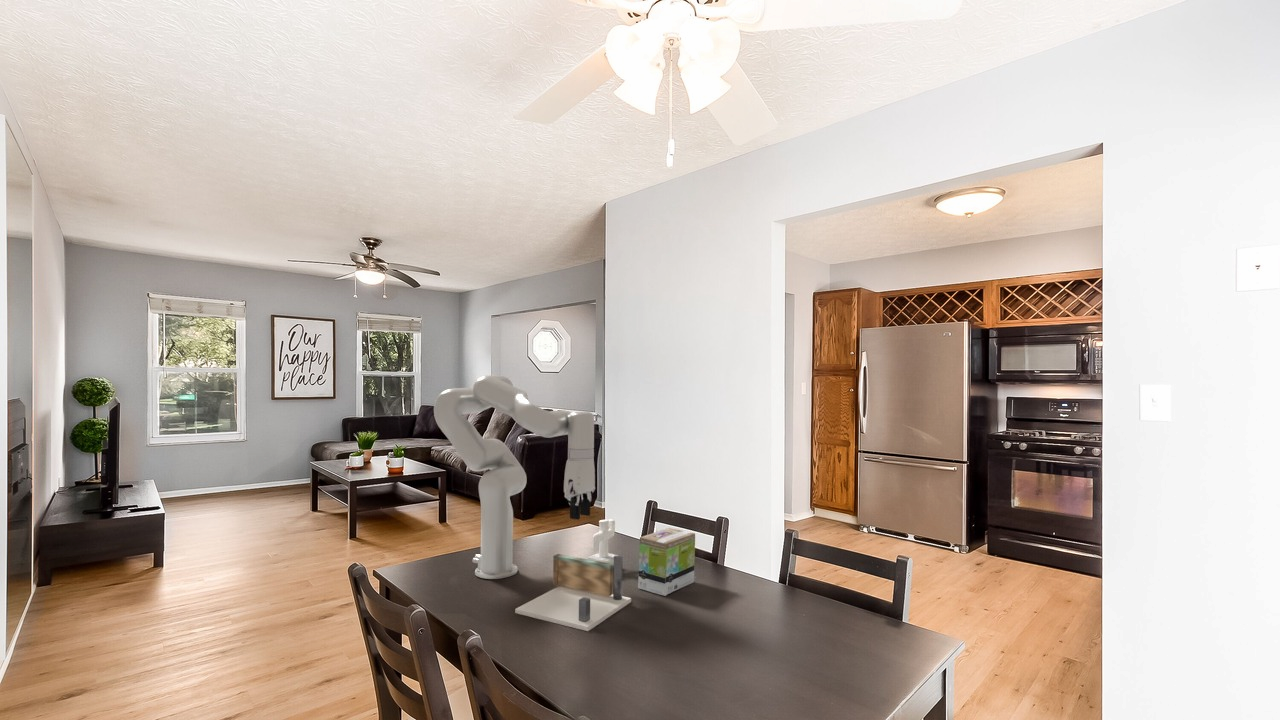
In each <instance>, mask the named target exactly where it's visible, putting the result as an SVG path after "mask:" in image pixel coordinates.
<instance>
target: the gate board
mask: <svg viewBox="0 0 1280 720" xmlns="http://www.w3.org/2000/svg"><path fill="white" fill-rule="evenodd" d="M583 597H585V598H590V620H588V621H587V622H582V621H579V599H581V598H583ZM630 603H632V598H631V597H628V596H624V595H622V599H621V600H614V599H613V594H612V595H611V596H607V595H602V594H598V593H593V592H588V591H584V590H579V589H575V588H570V587H565V586H561V585H557V587H554V588H552V589H550V590H548V591H547V592H545V593H543V594H542V595H539V596H537V597H536V598H534V599H532V600H530V601H528V602H525V603H524V604H522V605H520V606H518V607H516V608H515V611H514V613H515V614H518V615H522V616H526V617H530V618H534V619H537V620H541V621H546V622H550V623H554V624H557V625H562V626H565V627H570V628H574V629H577V630H581V631H585V632H589V631H591V630H592V629H594V628H596V626H597V625H600V624H601V623H602V622H604V621H606V619H608V618H609V617H611V616H612V615H614V614H615V613H617V612H618V611H620V610H622V609H623V608H625V607H626V606H628V605H629V604H630Z"/></svg>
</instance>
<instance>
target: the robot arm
mask: <svg viewBox="0 0 1280 720" xmlns="http://www.w3.org/2000/svg"><path fill="white" fill-rule="evenodd" d="M528 399H529V397H528V394H527V392H526V391H524V390H522V389H521V388H518V387H516V386H514V384H513V383H512V381H511V380H510V379H509V378H508V377H506V376H504V375H483V376H481V377H479V378H478V379H476V380H475V382H474V383H473V387H459V388H458V387H456V388H454V387H453V388H449V389H446V390H444V391H442V392H440V393H439V394H438V395H437V397H436V399H435V401H434V405H433V415H434V419H435V422H436V424H437V426H438V428H439V429H440V431H441V432H442V433H443V434H444V435H445V437H446V438H447V439H448V441H449V442H450V443H451V445H452V447H453V448H454V449H455V451H456V453H457V454H458V455H459V457H460V458H461V460H462V461H463V462H464V464H465V465H466V467H467V468H468V469H469V470H471V471H473V472H482V471H483V472H484V471H487V472H485V473H483V475H482V476H481V477H480V478H479V479H480V480H479V482H478V494H479V495H478V496H479V500H480V554H479V553H478V554H475V555H474V557H473V558H472V563H475V564H477V567H476V568H475V571H474V575H475V576H476V577H478V578H480V579H484V580H486V579H487V580H500V579H504V578H505V579H506V578H510V577H511V576H514V575H516V574H517V572H518V566H517V565H516V564H513V559H514V558H513V557H514V556H513V554H514V553H513V552H514V551H513V550H514V549H513V548H514V547H513V545H514V543H513V542H514V509H513V506H512V502H511V499H510V498H511V497H512V496H515V495H517V494H519V493H521V492H522V491H523V490H524V489H525V488H526V485H527V479H528V478H527V473H526V472H525V469H524V468H523V466H522V465H521V463H520V462H519V461H518V459H517V458H516V457H515V455H514V454H513V452H512V451H511V450H510V448H509V447H508V446H507V445H506V444H505V443H504V442H503V441H501V440H500V439H498V438H484V437H483V436H482V435H481V434H480V432H478V430H477V428H476V427H475V426H474V425H473V424H472V423H471V422H470V421H469V420H468V419H466V418H465V417H464V415H471V414H472V415H473V414H477V413H479V412H483V411H486V410H489V409H490V408H494V409H496V410H497V411H500V412H502V413H503V414H506V415H507V416H509V417H511V418H512V419H513V420H514V421H515V422H516V424H518V426H520V427H522V428H523V429H525V430H527V431H529V432H531V433H533V434H535V435H537V436H540V437H543V438H550V439H551V438H554V437H555V438H556V437H560V436H566V435H567V437H568V440H567V442H568V443H567V460H566V463H565V469H564V480H563V493H564V498H565V499H566V500H567V502H568V505H569V519H571V520H577V521H578V520H580V519H581V516H585V517H586V516H587V517H588V516H591V502H592V497H593V494H594V492H595V490H596V473H595V472H596V469H595V460H594V457H595V452H594V451H595V449H594V448H595V416H594V414H593V413H592V412H589V411H569V410H563V409H560V410H559V409H557V410H550V411H548V410H546V409H544V408H541V407H539V406H537V405H535V404H533V403H532V402H530V401H529V400H528ZM580 497H581V499H580Z"/></svg>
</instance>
